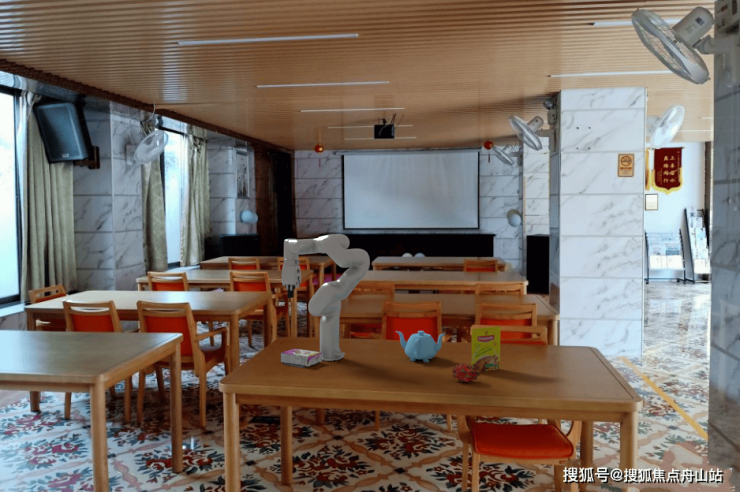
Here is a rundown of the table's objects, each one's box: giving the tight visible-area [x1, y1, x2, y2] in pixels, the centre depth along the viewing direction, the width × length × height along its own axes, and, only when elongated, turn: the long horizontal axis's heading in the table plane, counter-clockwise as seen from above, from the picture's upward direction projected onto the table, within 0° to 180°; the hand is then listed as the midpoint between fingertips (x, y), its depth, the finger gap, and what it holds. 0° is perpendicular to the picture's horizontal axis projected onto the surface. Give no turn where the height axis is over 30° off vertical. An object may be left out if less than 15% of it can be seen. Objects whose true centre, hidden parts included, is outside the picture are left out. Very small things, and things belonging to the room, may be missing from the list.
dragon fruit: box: [451, 363, 481, 384], centre depth 254 cm, size 8×8×12 cm
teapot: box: [395, 330, 446, 363], centre depth 291 cm, size 16×20×14 cm
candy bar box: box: [280, 348, 322, 368], centre depth 284 cm, size 11×5×16 cm
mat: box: [282, 362, 307, 369], centre depth 283 cm, size 12×9×1 cm
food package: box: [470, 326, 502, 373], centre depth 271 cm, size 15×1×20 cm, turn 112°
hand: (290, 297), depth 309 cm, fingers closed
